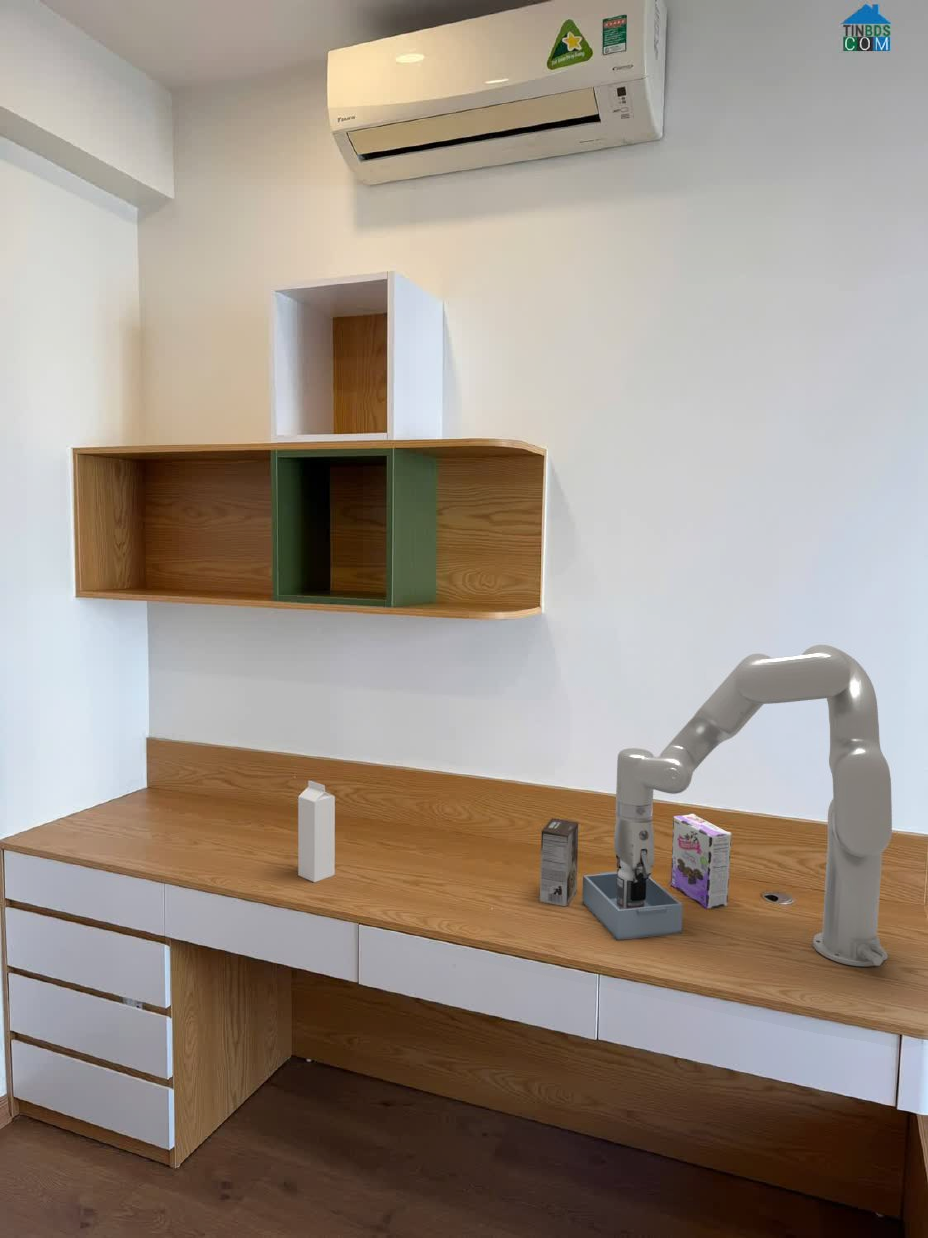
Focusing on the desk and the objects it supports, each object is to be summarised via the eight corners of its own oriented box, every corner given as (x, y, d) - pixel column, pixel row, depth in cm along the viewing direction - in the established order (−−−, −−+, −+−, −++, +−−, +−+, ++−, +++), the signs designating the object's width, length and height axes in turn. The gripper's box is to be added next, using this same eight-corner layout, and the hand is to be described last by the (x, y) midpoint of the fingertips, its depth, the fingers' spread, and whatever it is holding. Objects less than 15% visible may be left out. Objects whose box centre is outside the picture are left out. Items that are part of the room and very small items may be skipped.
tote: (683, 935, 169) (685, 906, 168) (619, 942, 165) (620, 913, 165) (639, 894, 188) (640, 868, 187) (580, 900, 184) (581, 874, 184)
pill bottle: (647, 905, 177) (649, 859, 176) (639, 915, 172) (640, 868, 171) (621, 898, 180) (623, 853, 179) (612, 908, 175) (614, 862, 174)
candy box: (669, 885, 194) (672, 815, 192) (690, 881, 196) (693, 812, 194) (706, 909, 181) (709, 835, 179) (729, 906, 183) (732, 832, 181)
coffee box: (549, 886, 192) (551, 817, 190) (577, 891, 189) (579, 821, 188) (538, 902, 183) (540, 830, 182) (567, 907, 181) (569, 834, 179)
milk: (314, 883, 192) (314, 788, 189) (297, 875, 195) (297, 783, 193) (335, 875, 196) (335, 782, 194) (318, 868, 200) (318, 777, 198)
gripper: (670, 821, 167) (667, 909, 169) (632, 795, 184) (629, 876, 185) (636, 824, 165) (632, 913, 167) (600, 797, 182) (597, 879, 183)
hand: (630, 892), depth 176 cm, fingers closed on pill bottle, 5 cm apart
